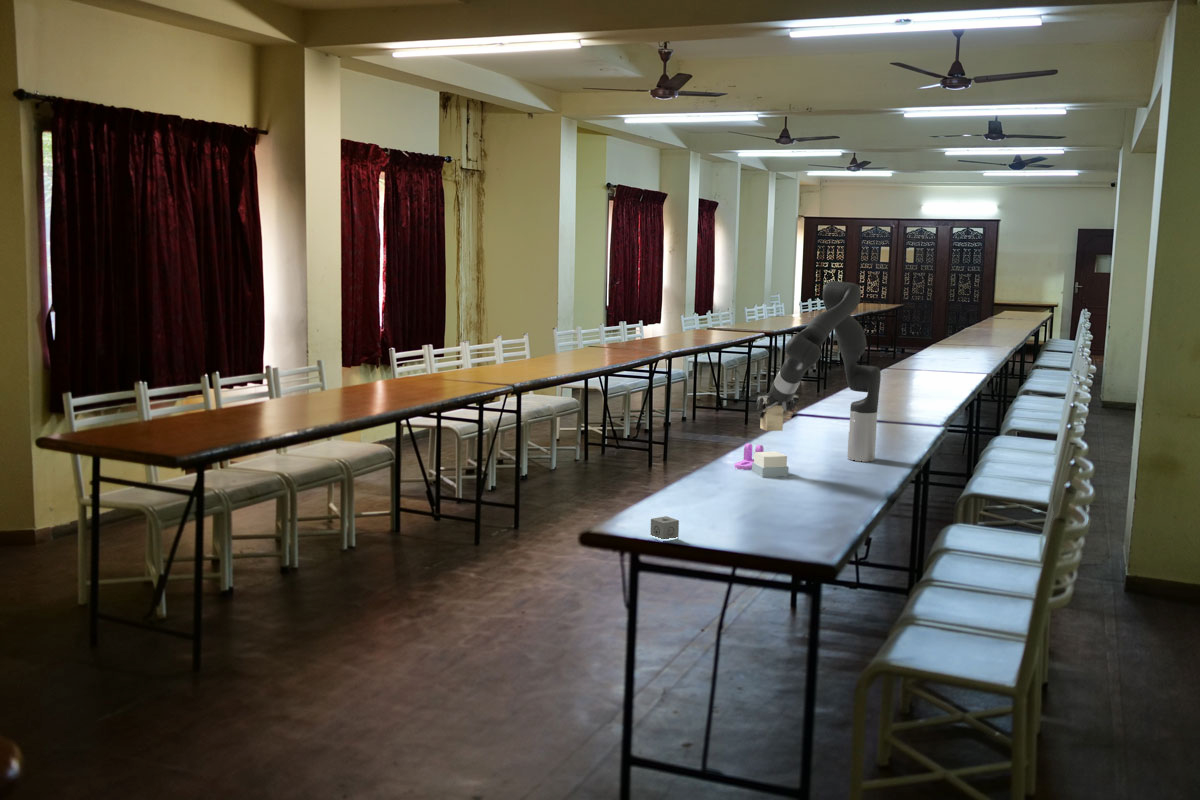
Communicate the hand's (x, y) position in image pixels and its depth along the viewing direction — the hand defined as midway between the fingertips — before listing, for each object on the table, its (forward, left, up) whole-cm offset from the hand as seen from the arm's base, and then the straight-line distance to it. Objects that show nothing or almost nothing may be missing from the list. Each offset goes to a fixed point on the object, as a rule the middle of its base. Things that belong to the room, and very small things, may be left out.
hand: (769, 415), depth 343 cm
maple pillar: (+2, 0, -4) cm, 5 cm away
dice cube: (+70, -57, -19) cm, 93 cm away
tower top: (+2, 0, -16) cm, 16 cm away
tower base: (+2, 0, -20) cm, 20 cm away
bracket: (-11, -2, -19) cm, 23 cm away
